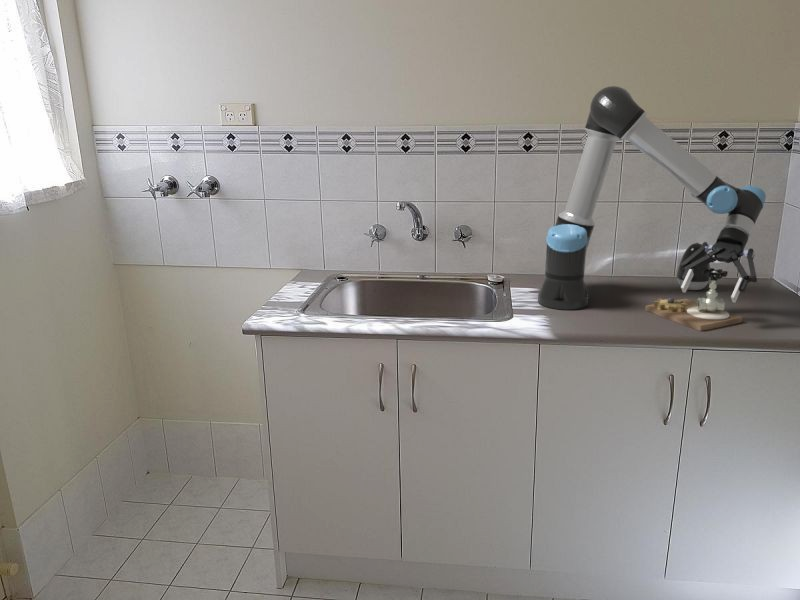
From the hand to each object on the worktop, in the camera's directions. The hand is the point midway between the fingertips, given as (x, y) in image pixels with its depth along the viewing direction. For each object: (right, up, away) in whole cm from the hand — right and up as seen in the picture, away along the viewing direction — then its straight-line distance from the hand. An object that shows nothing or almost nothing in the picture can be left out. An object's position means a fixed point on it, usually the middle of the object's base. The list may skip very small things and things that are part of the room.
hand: (707, 295), depth 178 cm
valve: (+3, -5, +4) cm, 7 cm away
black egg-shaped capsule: (+11, +2, +33) cm, 35 cm away
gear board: (-1, -6, +6) cm, 9 cm away
